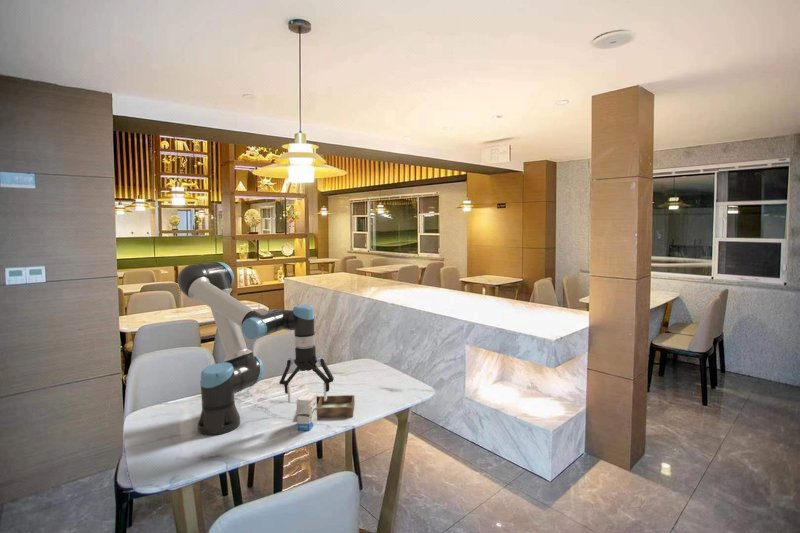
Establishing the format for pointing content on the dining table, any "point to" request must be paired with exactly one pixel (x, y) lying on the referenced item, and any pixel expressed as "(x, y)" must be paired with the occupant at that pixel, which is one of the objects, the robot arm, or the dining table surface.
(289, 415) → the dining table surface
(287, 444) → the dining table surface
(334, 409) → the organiser
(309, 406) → the ink box
